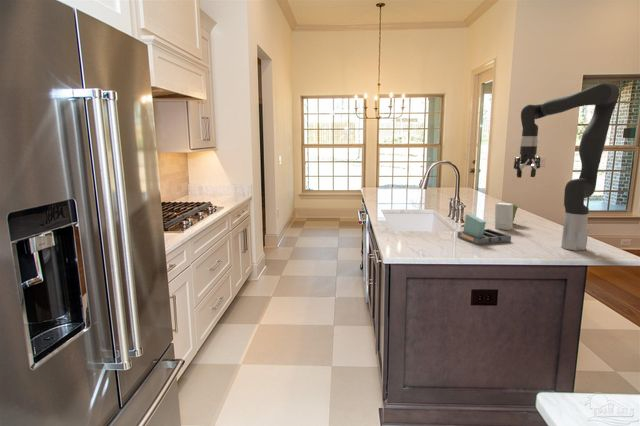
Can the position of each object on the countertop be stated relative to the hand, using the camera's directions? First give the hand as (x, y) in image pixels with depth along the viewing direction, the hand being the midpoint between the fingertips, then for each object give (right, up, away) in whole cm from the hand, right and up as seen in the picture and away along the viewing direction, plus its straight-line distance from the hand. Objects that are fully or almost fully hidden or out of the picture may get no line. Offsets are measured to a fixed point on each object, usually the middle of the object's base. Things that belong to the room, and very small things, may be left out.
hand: (526, 177), depth 202 cm
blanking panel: (-27, -30, +2) cm, 41 cm away
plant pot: (+9, -25, +40) cm, 48 cm away
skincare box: (+1, -28, +27) cm, 38 cm away
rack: (-21, -32, +3) cm, 38 cm away
